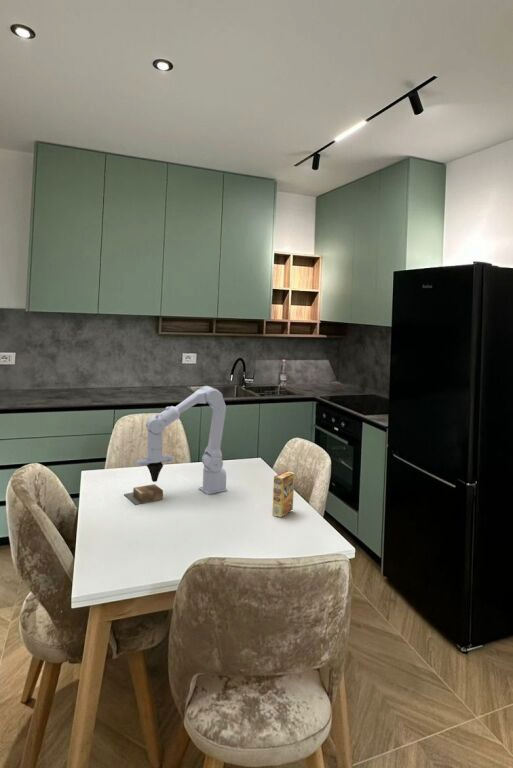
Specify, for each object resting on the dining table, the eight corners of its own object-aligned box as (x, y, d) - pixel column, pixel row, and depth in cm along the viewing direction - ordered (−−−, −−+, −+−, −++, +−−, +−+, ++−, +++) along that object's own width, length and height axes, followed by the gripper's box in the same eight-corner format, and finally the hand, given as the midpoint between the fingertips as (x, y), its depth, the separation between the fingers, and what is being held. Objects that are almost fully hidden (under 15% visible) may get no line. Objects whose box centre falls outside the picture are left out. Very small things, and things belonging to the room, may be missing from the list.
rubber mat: (147, 490, 198) (147, 489, 198) (159, 500, 188) (159, 499, 188) (123, 495, 192) (123, 494, 192) (135, 505, 183) (135, 504, 182)
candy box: (281, 518, 177) (283, 478, 175) (271, 515, 179) (273, 475, 177) (293, 511, 184) (295, 472, 182) (283, 508, 186) (285, 470, 184)
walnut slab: (154, 484, 195) (133, 487, 190) (163, 490, 189) (141, 494, 183) (154, 492, 196) (133, 496, 190) (162, 498, 189) (141, 502, 184)
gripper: (167, 443, 196) (166, 475, 198) (133, 447, 187) (133, 480, 189) (175, 447, 190) (174, 480, 192) (140, 452, 182) (140, 486, 184)
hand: (154, 481), depth 190 cm, fingers closed
